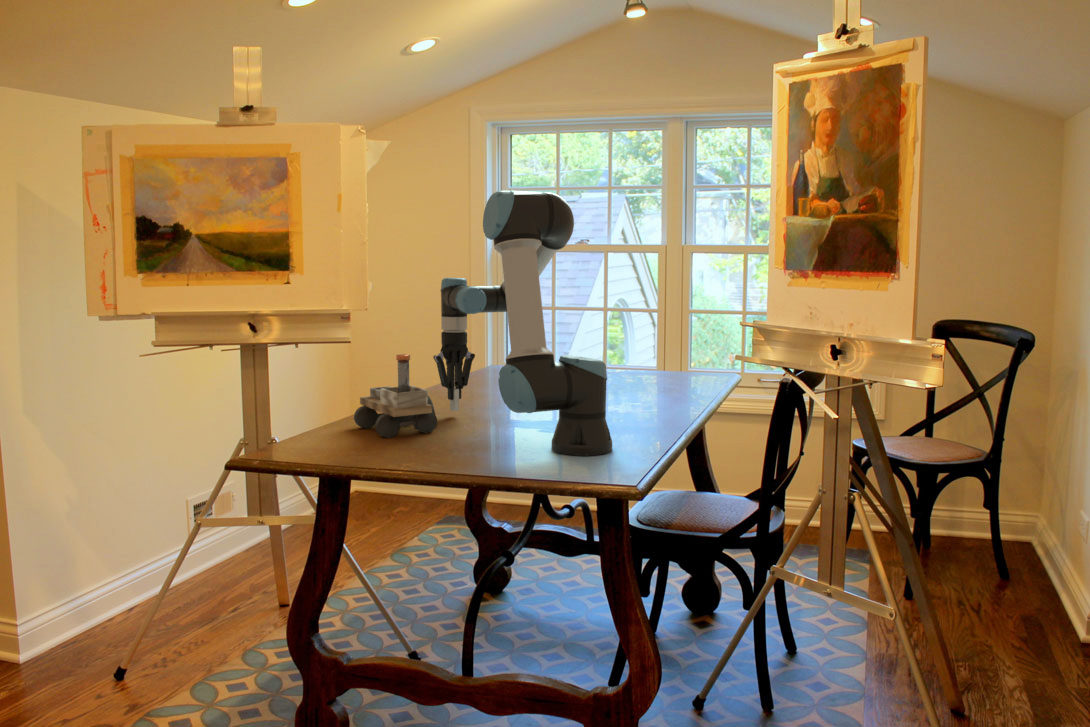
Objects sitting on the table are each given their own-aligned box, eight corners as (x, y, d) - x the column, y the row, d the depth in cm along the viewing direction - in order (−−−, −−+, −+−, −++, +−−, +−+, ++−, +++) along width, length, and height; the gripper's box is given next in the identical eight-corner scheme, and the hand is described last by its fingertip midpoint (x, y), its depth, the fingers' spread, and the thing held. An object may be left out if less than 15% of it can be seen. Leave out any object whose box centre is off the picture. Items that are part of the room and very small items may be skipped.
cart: (442, 433, 235) (441, 389, 234) (383, 441, 226) (382, 395, 224) (405, 420, 253) (405, 379, 252) (350, 426, 244) (349, 383, 242)
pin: (413, 404, 233) (412, 355, 232) (400, 405, 231) (399, 356, 230) (407, 402, 236) (406, 353, 235) (395, 403, 234) (394, 354, 233)
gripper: (467, 328, 262) (467, 406, 265) (428, 330, 255) (428, 410, 258) (480, 330, 256) (480, 410, 259) (440, 333, 249) (440, 414, 252)
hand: (454, 410), depth 259 cm, fingers closed
